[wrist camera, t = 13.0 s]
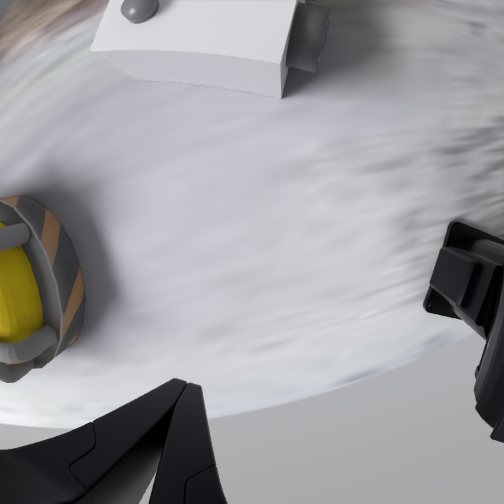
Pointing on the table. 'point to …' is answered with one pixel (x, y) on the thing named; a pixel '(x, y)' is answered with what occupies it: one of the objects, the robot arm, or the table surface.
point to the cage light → (36, 288)
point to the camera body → (213, 41)
